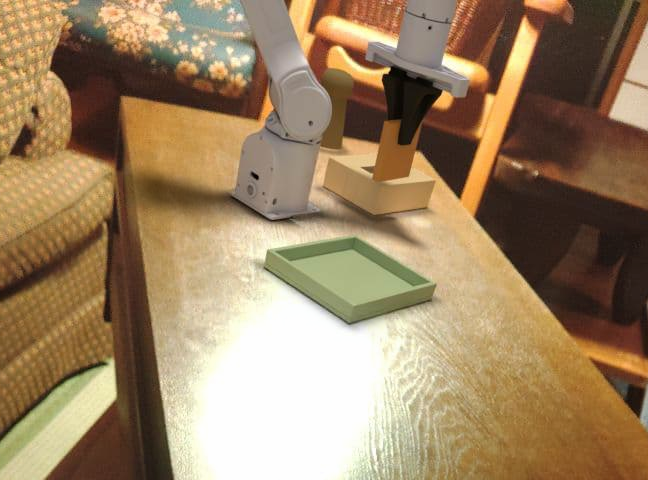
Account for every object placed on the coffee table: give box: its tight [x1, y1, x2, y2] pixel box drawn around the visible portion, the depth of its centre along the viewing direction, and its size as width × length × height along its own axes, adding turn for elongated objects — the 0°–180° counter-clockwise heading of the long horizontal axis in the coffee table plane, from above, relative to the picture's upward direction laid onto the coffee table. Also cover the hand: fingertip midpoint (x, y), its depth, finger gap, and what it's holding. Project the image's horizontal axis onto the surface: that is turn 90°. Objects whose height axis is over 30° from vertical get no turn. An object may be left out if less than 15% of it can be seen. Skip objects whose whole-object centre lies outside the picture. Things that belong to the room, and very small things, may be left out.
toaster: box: [322, 153, 437, 217], centre depth 108 cm, size 14×10×4 cm
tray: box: [263, 234, 438, 324], centre depth 84 cm, size 15×13×2 cm
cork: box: [320, 67, 355, 150], centre depth 119 cm, size 6×6×11 cm
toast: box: [372, 119, 424, 182], centre depth 96 cm, size 7×1×7 cm, turn 139°
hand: (399, 141), depth 95 cm, fingers closed on toast, 1 cm apart
